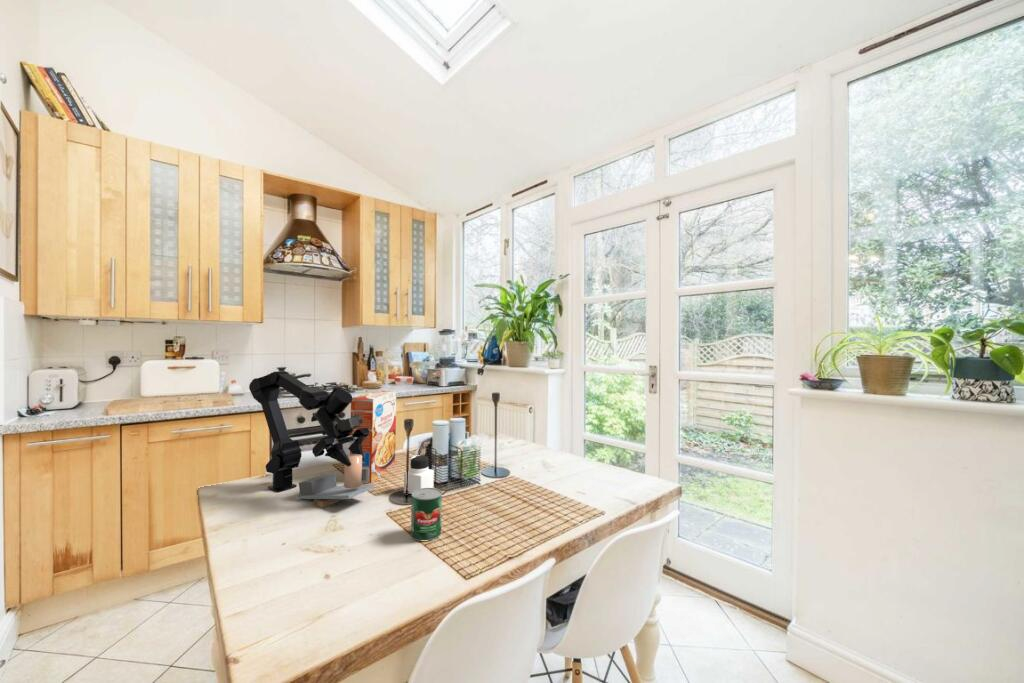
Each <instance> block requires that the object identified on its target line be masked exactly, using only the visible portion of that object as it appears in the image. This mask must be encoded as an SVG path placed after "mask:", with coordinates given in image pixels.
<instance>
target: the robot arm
mask: <svg viewBox="0 0 1024 683" xmlns="http://www.w3.org/2000/svg"><path fill="white" fill-rule="evenodd" d="M280 388H282V389H283V390H285V391H286V392H288V393H290V394H291V395H293V396H294V397H296V398H297V399H298V403H299V405H301V406H302V407H303V408H304V409H305V410H306V411H313V410H317V411H316V412H312V416H311V420H310V422H318V423H319V425H320V427H321V429H322V432H321V434H322V436H326V437H322V438H320V439H319V440H318V441H317V442H316V443H315V445H314V446H313V447H312V450H311V451H312V454H313V456H314V458H317V457H321V456H325V457H329V458H331V459H332V460H333V459H334V460H336V461H337V462H339V463H342V464H343V465H344V466H345V465H347V466H350V465H351V462H350V460H349V458H348V456H347V455H348V454H347V453H346V451H345V450H344V446H343V445H344V444H348V445H349V446H348V448H347V449H348V450H349V452H350V451H351V452H352V453H353V454H361V455H362V462H363V461H364V455H363V450H362V442H363V441H364V440H365V439H366V437H367V436H368V435H369V434H370V431H369V430H368V428H361V429H357V430H356V431H355V432H354V433H353V434H352V435H350V433H352V432H353V429H354V428H356V427H359V426H361V425H360V424H361V423H362V422H363V421H362V418H361V416H360V415H359V414H357V415H354V416H352V417H351V416H350V417H349V418H345V419H344V418H342V419H341V418H340V417H339V415H341V414H342V413H343V412H344V410H345V409H346V408H347V407H348V406H349V405H351V401H352V398H353V396H352V394H351V393H350V392H348V391H347V390H344V389H342V388H341V387H340V386H337V387H336V386H335V387H333V389H332V391H331V392H330V393H329V392H328V391H326V390H324V389H321V388H319V387H318V388H317V387H312V386H309V385H307V384H306V383H305V382H303V381H300V380H299V379H298V378H296V377H294V376H293V375H291V374H290V373H289V372H288V371H286V370H279V371H277V370H276V371H273V372H271V373H269V374H266V375H263V376H261V377H257V378H256V377H255V378H253V379H252V380H251V381H250V382H249V385H248V389H249V392H250V393H251V396H252V397H253V399H254V400H255V401H256V402H257V403H259V404H260V406H261V408H262V411H263V414H264V417H265V420H266V424H267V426H268V431H269V434H270V436H271V440H272V443H273V444H272V447H271V452H270V456H271V458H270V460H269V461H268V462H267V463H266V464H265V471H266V472H267V473H271V474H272V485H269V486H267V489H269V488H270V489H269V490H271V489H272V490H271V491H274V490H275V491H274V492H276V491H277V492H276V493H279V491H280V492H282V491H286V490H290V489H294V488H296V487H297V484H294V483H293V469H294V468H295V469H296V468H298V467H299V466H300V463H301V458H302V456H303V455H302V454H303V453H302V451H303V450H302V448H301V447H300V442H299V440H297V439H295V440H293V439H292V438H291V437H290V434H289V432H288V429H287V425H286V422H285V419H284V416H283V412H282V410H281V407H280V404H279V400H278V398H279V395H280ZM325 451H326V453H325Z"/></svg>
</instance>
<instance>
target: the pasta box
mask: <svg viewBox="0 0 1024 683" xmlns="http://www.w3.org/2000/svg"><path fill="white" fill-rule="evenodd" d="M357 414H359V415H360V416H361V418H362V421H363V422H362V423H361V424H360V425H361V426H359V427H356V428H354V429H353V432H352V433H350V435H352V434H353V433H354V432H355V431H356V430H357V429H361V428H368V430H369V431H370V434H369V435H368V436H367V437H366V439H365V440H364V441H363V442H362V450H363V455H364V461H363V462H362V482H361V483H372V482H373V481H374V480H376V479H377V478H378V477H379V476H380V475H381V476H383V475H384V474H385V473H386V472H387V471H389V470H390V469H391V468H392V467H394V466H395V465H396V431H397V430H396V427H397V425H396V424H397V423H396V422H397V391H395V390H374V391H371V392H369V393H364V394H362V395H357V396H354V397H352V401H351V403H350V418H351V417H352V416H354V415H357ZM350 454H353V453H352V452H351V451H350V450H349V455H350ZM394 464H395V465H394ZM391 466H392V467H391ZM390 467H391V468H390ZM389 468H390V469H389ZM388 469H389V470H388ZM386 470H387V471H386ZM385 471H386V472H385ZM384 472H385V473H384ZM383 473H384V474H383ZM382 474H383V475H382ZM381 476H380V477H381ZM380 477H379V478H380ZM379 478H378V479H379ZM378 479H377V480H378ZM377 480H376V481H377ZM374 482H375V481H374ZM374 482H373V483H374ZM373 483H372V484H373Z"/></svg>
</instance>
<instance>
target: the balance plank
mask: <svg viewBox="0 0 1024 683" xmlns="http://www.w3.org/2000/svg"><path fill="white" fill-rule="evenodd" d="M298 488H299V489H298V490H299V495H298V499H299V500H315V499H342V500H350V499H352V498H355V497H357V496H359V495H361V494H364V493H365V492H369V491H371V490H372V489H375V484H361V486H360V487H357V488H345V487H344V485H337V477H336V473H330V474H329V473H328V474H325V473H324V474H320V475H317V476H315V477H311V478H308V479H305V480H302V481H300V482H298Z"/></svg>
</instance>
